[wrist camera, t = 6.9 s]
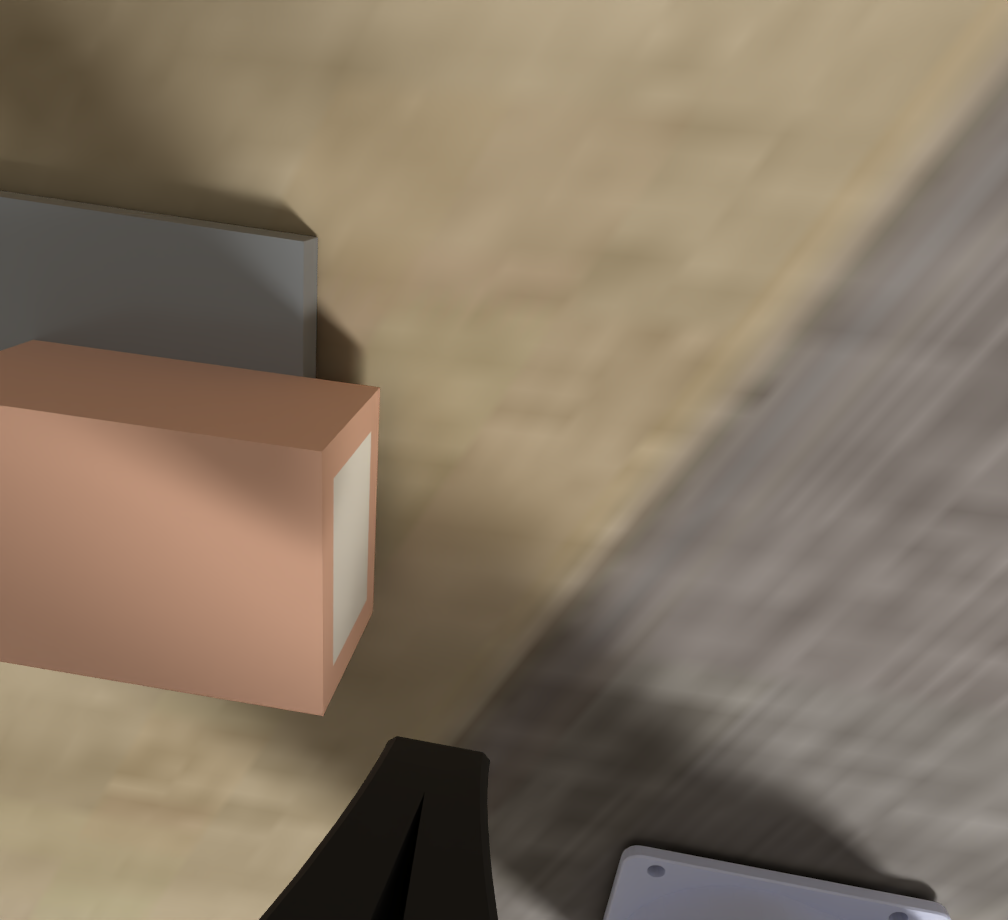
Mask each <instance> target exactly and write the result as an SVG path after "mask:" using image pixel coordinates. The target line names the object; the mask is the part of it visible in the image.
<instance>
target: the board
mask: <svg viewBox="0 0 1008 920" xmlns="http://www.w3.org/2000/svg"><path fill="white" fill-rule="evenodd" d="M317 259H318V237H313V236H307V235H300V234H293V233H286V232H279V231H273V230H266V229H259V228H252V227H245V226H238V225H232V224H225V223H218V222H211V221H204V220H198V219H191V218H184V217H177V216H170V215H164V214H157V213H150V212H143V211H136V210H129V209H123V208H116V207H109V206H102V205H95V204H89V203H82V202H75V201H68V200H61V199H55V198H48V197H41V196H34V195H27V194H20V193H14V192H7V191H0V351H1V350H4V349H7V348H10V347H13V346H16V345H19V344H22V343H25V342H28V341H31V340H39V341H46V342H53V343H61V344H68V345H75V346H82V347H90V348H97V349H104V350H111V351H119V352H126V353H133V354H141V355H148V356H155V357H162V358H170V359H177V360H184V361H191V362H199V363H206V364H213V365H220V366H228V367H235V368H242V369H250V370H257V371H264V372H271V373H279V374H286V375H293V376H300V377H308V378H315V379H316V334H317Z"/></svg>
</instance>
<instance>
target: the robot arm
mask: <svg viewBox="0 0 1008 920" xmlns="http://www.w3.org/2000/svg"><path fill="white" fill-rule="evenodd" d="M489 764H490V760H489V759H488V758H487V756H486V755H485V754H484V753H483V752H478V751H472V750H467V749H462V748H456V747H451V746H446V745H440V744H435V743H430V742H425V741H419V740H414V739H409V738H403V737H398V736H397V737H395V738H393V739H391V740H389V741H388V743H387V744H386V746H385V748H384V750H383V752H382V753H381V755H380V757H379V759H378V760H377V762H376V764H375V765H374V767H373V768H372V770H371V772H370V773H369V775H368V777H367V778H366V780H365V781H364V783H363V784H362V786H361V787H360V789H359V790H358V792H357V793H356V795H355V796H354V798H353V799H352V800H351V802H350V803H349V805H348V806H347V808H346V809H345V810H344V812H343V813H342V815H341V816H340V818H339V819H338V820H337V822H336V823H335V825H334V826H333V827H332V829H331V830H330V831H329V833H328V834H327V835H326V836H325V838H324V839H323V840H322V842H321V843H320V844H319V846H318V847H317V848H316V850H315V851H314V852H313V854H312V855H311V856H310V858H309V859H308V860H307V862H306V863H305V864H304V866H303V867H302V868H301V869H300V871H299V872H298V873H297V875H296V876H295V877H294V878H293V880H292V881H291V882H290V883H289V885H288V886H287V887H286V888H285V889H284V891H283V892H282V893H281V894H280V895H279V896H278V898H277V899H276V900H275V901H274V902H273V904H272V905H271V906H270V907H269V908H268V910H267V911H266V912H265V913H264V914H263V915H262V917H261V918H260V919H259V920H498V916H497V909H496V901H495V894H494V886H493V879H492V870H491V860H490V849H489V833H488V813H487V788H488V772H489ZM603 920H951V919H950V917H949V914H948V912H947V910H946V908H945V907H944V906H943V905H942V904H940V903H937V902H934V901H929V900H924V899H918V898H913V897H908V896H903V895H898V894H892V893H887V892H882V891H877V890H871V889H866V888H861V887H856V886H850V885H845V884H840V883H835V882H830V881H824V880H819V879H814V878H809V877H803V876H798V875H793V874H788V873H783V872H777V871H772V870H767V869H762V868H756V867H751V866H746V865H741V864H735V863H730V862H725V861H720V860H715V859H709V858H704V857H699V856H694V855H688V854H683V853H678V852H673V851H667V850H662V849H657V848H652V847H647V846H641V845H634V846H630V847H628V848H627V849H625V850H624V851H623V853H622V855H621V859H620V862H619V866H618V869H617V873H616V876H615V880H614V883H613V887H612V890H611V894H610V897H609V901H608V904H607V908H606V911H605V914H604V918H603Z"/></svg>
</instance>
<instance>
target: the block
mask: <svg viewBox="0 0 1008 920" xmlns="http://www.w3.org/2000/svg"><path fill="white" fill-rule="evenodd" d="M379 404H380V387H373V386H366V385H359V384H351V383H344V382H337V381H330V380H322V379H315V378H308V377H300V376H293V375H286V374H279V373H271V372H264V371H257V370H250V369H242V368H235V367H228V366H220V365H213V364H206V363H199V362H191V361H184V360H177V359H170V358H162V357H155V356H148V355H141V354H133V353H126V352H119V351H111V350H104V349H97V348H90V347H82V346H75V345H68V344H61V343H53V342H46V341H39V340H31V341H28V342H25V343H22V344H19V345H16V346H13V347H10V348H7V349H4V350H1V351H0V661H1V662H7V663H13V664H18V665H24V666H30V667H36V668H42V669H48V670H54V671H60V672H66V673H72V674H78V675H83V676H89V677H95V678H101V679H107V680H113V681H119V682H125V683H131V684H137V685H143V686H148V687H154V688H160V689H166V690H172V691H178V692H184V693H190V694H196V695H202V696H208V697H214V698H219V699H225V700H231V701H237V702H243V703H249V704H255V705H261V706H267V707H273V708H279V709H284V710H290V711H296V712H302V713H308V714H314V715H320V716H323V715H324V713H325V711H326V709H327V707H328V705H329V703H330V701H331V699H332V697H333V695H334V692H335V690H336V688H337V686H338V684H339V682H340V680H341V678H342V676H343V674H344V672H345V669H346V667H347V665H348V663H349V661H350V659H351V657H352V655H353V653H354V651H355V649H356V646H357V644H358V642H359V640H360V638H361V636H362V634H363V632H364V630H365V628H366V626H367V623H368V621H369V619H370V617H371V615H372V613H373V596H374V564H375V532H376V500H377V468H378V436H379Z"/></svg>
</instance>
